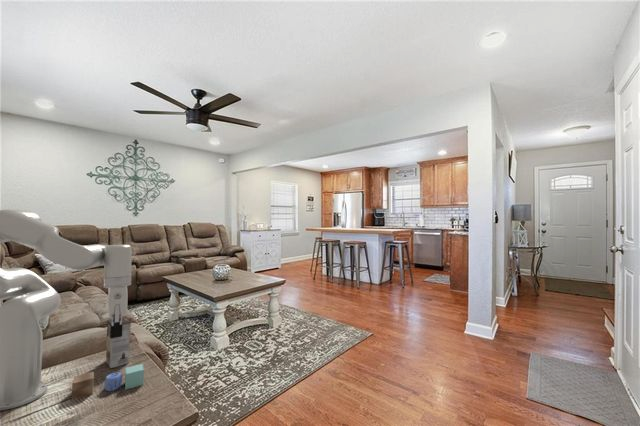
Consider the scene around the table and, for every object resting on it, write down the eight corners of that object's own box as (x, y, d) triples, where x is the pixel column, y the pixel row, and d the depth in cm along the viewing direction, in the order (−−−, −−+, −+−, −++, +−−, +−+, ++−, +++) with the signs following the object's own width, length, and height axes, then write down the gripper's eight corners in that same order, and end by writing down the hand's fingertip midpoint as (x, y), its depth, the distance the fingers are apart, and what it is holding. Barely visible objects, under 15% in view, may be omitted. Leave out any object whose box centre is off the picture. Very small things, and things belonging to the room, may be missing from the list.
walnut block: (71, 400, 87) (72, 383, 87) (73, 392, 91) (74, 376, 91) (92, 394, 89) (93, 378, 90) (93, 387, 94) (94, 371, 94)
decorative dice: (103, 392, 91) (104, 379, 91) (107, 385, 94) (108, 373, 94) (118, 389, 92) (119, 377, 92) (122, 383, 96) (122, 371, 96)
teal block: (125, 389, 92) (125, 374, 92) (124, 382, 96) (125, 367, 96) (143, 384, 95) (143, 369, 95) (142, 378, 99) (142, 363, 99)
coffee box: (105, 360, 112) (106, 319, 112) (124, 355, 116) (125, 316, 117) (109, 368, 105) (111, 325, 106) (130, 363, 110) (131, 321, 111)
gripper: (132, 283, 91) (130, 341, 90) (129, 277, 103) (128, 327, 102) (103, 286, 87) (101, 347, 86) (104, 279, 99) (102, 332, 98)
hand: (116, 336), depth 94 cm, fingers closed
